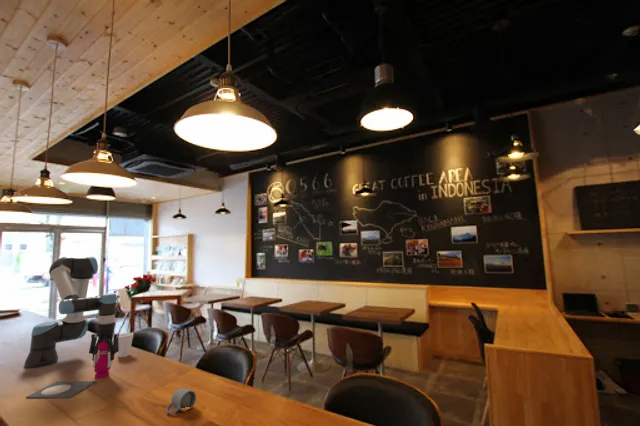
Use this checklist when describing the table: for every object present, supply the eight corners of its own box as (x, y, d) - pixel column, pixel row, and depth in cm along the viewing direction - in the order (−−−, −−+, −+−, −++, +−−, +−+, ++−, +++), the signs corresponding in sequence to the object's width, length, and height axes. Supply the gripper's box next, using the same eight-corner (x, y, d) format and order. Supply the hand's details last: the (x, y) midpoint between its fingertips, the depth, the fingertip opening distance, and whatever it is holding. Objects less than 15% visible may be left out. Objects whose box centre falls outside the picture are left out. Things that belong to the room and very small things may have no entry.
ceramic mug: (185, 401, 139) (186, 383, 140) (196, 407, 134) (196, 388, 135) (162, 412, 130) (162, 392, 131) (172, 418, 125) (173, 398, 126)
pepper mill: (113, 374, 169) (116, 336, 171) (100, 380, 162) (103, 340, 165) (103, 373, 171) (106, 335, 174) (90, 378, 165) (93, 339, 167)
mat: (25, 398, 142) (26, 396, 142) (56, 382, 159) (56, 381, 159) (70, 397, 142) (70, 396, 143) (95, 382, 159) (96, 380, 159)
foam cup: (135, 353, 204) (136, 333, 206) (125, 358, 195) (126, 336, 197) (121, 353, 205) (123, 332, 207) (111, 357, 196) (112, 336, 198)
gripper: (82, 324, 166) (78, 369, 163) (120, 324, 167) (116, 369, 164) (92, 321, 174) (89, 364, 171) (128, 321, 174) (125, 364, 171)
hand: (102, 366), depth 167 cm, fingers closed on pepper mill, 7 cm apart
